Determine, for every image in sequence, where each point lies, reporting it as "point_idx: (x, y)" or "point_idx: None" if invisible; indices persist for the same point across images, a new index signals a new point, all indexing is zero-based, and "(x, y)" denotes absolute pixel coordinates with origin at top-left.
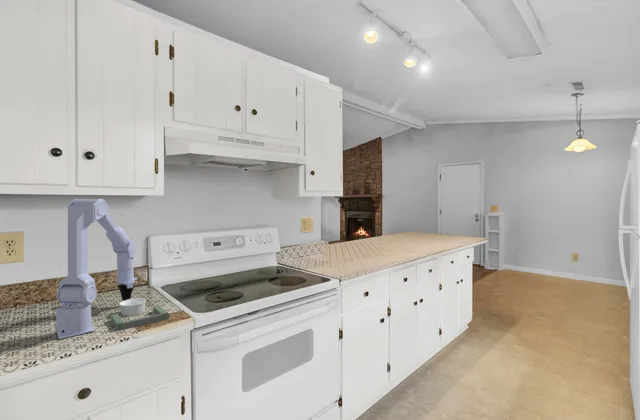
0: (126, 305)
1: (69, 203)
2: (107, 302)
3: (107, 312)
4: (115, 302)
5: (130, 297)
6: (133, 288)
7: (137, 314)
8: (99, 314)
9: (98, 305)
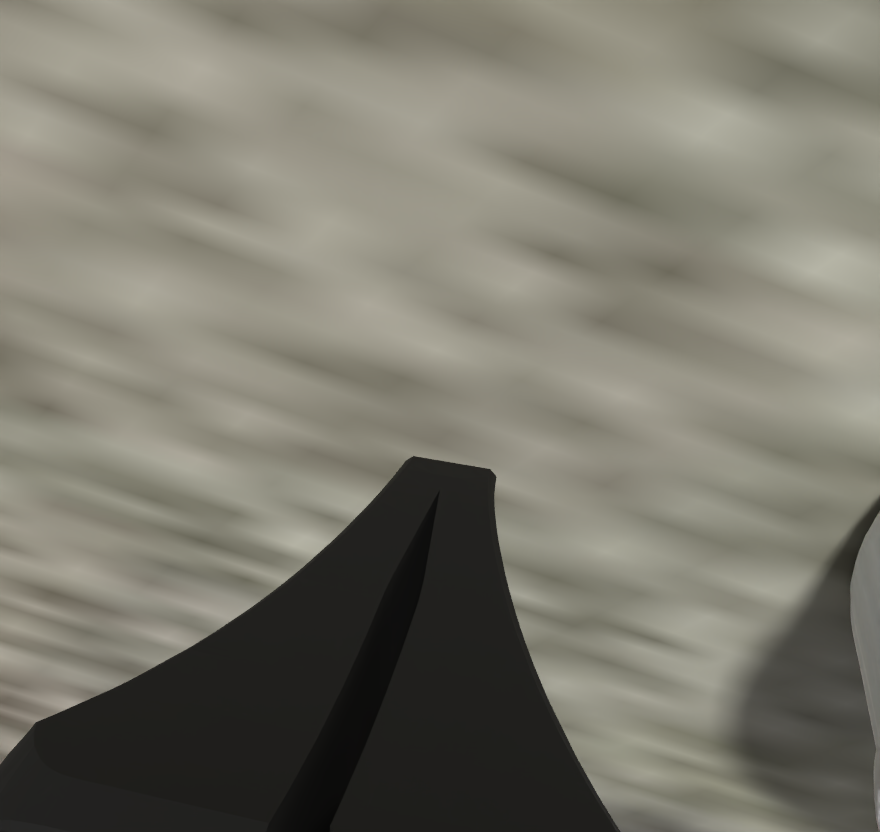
0: None
1: None
2: (16, 564)
3: (618, 756)
4: (85, 494)
5: (494, 537)
6: (593, 792)
7: None
8: (618, 827)
9: (124, 681)
